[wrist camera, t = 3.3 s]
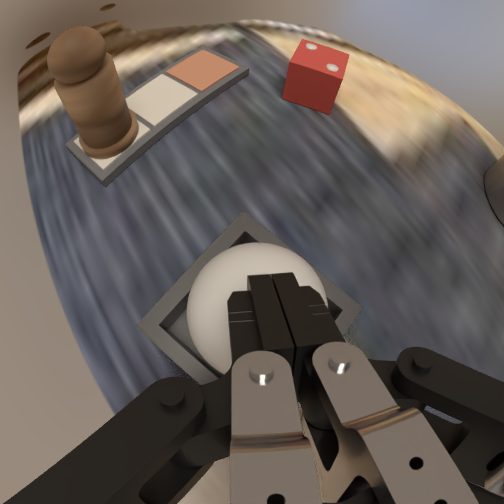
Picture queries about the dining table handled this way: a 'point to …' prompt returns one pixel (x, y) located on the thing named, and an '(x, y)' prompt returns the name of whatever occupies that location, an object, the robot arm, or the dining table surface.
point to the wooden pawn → (92, 92)
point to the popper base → (176, 298)
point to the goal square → (202, 70)
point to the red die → (315, 76)
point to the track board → (156, 115)
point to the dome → (235, 279)
